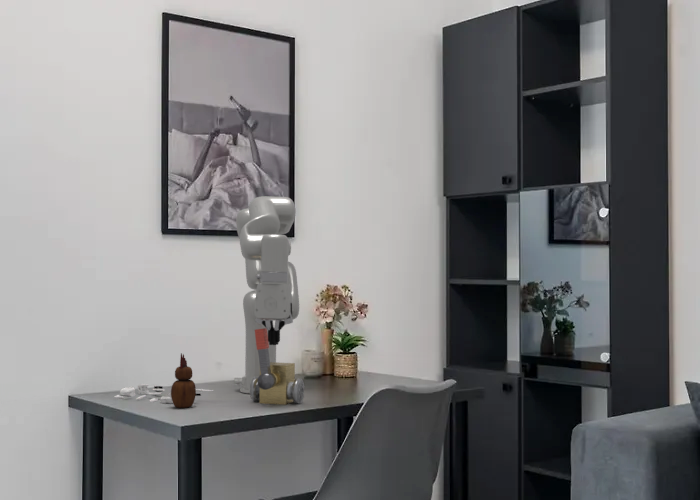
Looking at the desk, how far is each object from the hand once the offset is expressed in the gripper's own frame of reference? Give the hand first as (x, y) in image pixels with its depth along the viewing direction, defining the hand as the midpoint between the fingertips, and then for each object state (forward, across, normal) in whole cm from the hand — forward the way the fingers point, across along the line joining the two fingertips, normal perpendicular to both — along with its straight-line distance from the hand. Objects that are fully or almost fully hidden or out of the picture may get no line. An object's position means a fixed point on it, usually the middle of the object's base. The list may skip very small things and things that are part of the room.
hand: (273, 344), depth 249 cm
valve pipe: (+17, -2, +7) cm, 18 cm away
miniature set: (+18, -37, +3) cm, 41 cm away
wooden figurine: (+18, -23, -9) cm, 30 cm away
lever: (+12, -2, 0) cm, 12 cm away
